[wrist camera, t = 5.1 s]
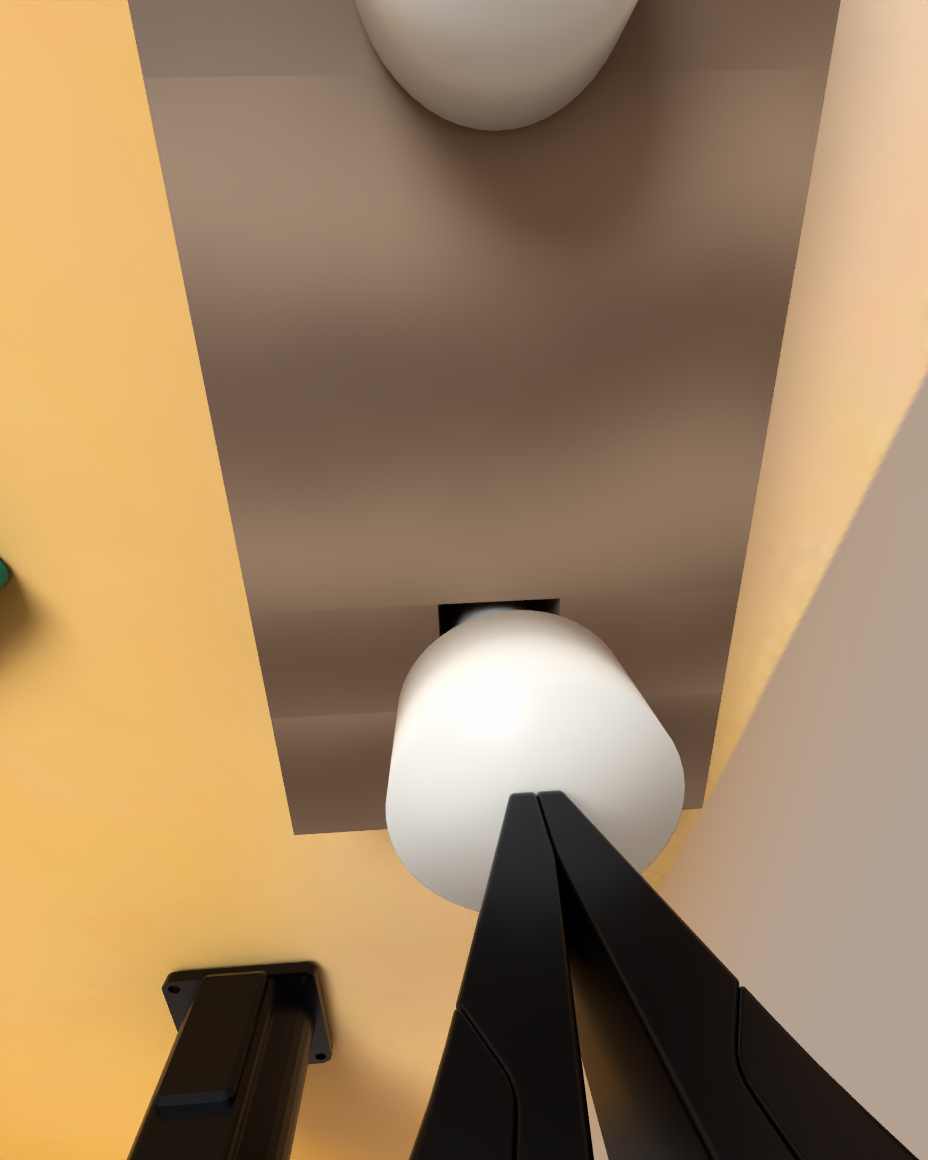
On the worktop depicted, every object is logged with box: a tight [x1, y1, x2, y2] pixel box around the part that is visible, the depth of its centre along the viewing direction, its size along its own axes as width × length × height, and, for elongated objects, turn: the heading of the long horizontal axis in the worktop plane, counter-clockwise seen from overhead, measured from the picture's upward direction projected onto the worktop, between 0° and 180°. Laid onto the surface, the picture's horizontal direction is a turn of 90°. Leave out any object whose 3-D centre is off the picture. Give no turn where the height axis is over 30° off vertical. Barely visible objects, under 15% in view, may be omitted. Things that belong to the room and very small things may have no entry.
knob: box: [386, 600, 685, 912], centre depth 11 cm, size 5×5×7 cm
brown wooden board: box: [128, 0, 840, 835], centre depth 12 cm, size 24×12×4 cm, turn 2°
